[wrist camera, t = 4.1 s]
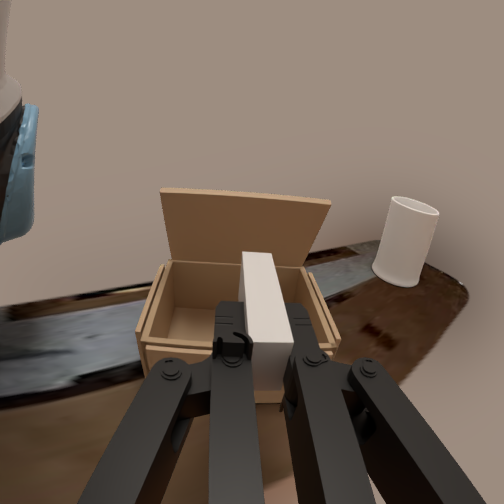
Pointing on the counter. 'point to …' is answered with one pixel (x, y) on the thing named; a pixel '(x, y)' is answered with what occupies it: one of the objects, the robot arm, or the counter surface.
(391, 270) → the mug
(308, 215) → the flap
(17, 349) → the counter surface
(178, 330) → the carton
